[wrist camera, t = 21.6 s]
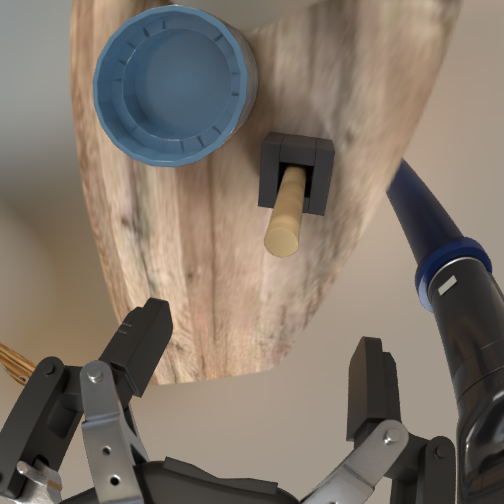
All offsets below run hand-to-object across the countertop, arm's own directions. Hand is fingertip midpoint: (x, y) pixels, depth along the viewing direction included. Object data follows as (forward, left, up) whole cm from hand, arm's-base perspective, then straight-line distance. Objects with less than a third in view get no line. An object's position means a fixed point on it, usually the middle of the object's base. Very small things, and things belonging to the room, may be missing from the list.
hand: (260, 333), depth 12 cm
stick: (0, 0, -22) cm, 22 cm away
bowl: (+12, -8, -22) cm, 26 cm away
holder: (0, 0, -22) cm, 22 cm away
